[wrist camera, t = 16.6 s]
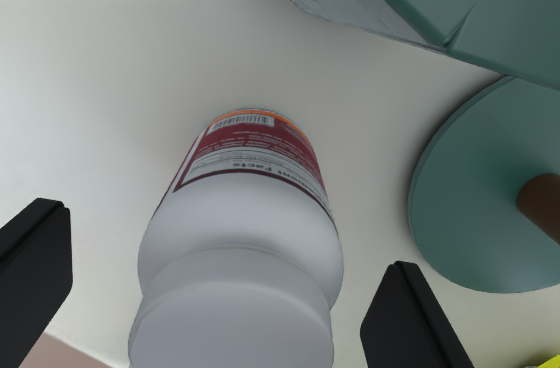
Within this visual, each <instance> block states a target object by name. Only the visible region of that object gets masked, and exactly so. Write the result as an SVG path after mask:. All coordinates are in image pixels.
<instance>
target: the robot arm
mask: <svg viewBox="0 0 560 368" xmlns="http://www.w3.org/2000/svg"><path fill="white" fill-rule="evenodd" d="M72 284H73V274H72V247H71V220H70V210H69V208H65V207H64V204H63V202H61V201H56V200H50V199H45V198H37V199H35V200H34V201H33V202H32V203H30V204H29V205H28V206H27V207H26V208H24V209H23V210H22V211H21V212H20V213H19V214H17V215H16V216H15V217H14V218H13V219H11V220H10V221H9V222H8V223H7V224H5V225H4V226H3V227H2V228H1V229H0V368H18V367H19V366H20V364H21V363H22V362H23V360H24V358H25V357H26V356H27V354H28V353H29V351H30V350H31V348H32V347H33V346H34V344H35V343H36V341H37V340H38V338H39V337H40V335H41V334H42V333H43V331H44V330H45V328H46V327H47V325H48V324H49V322H50V321H51V319H52V318H53V317H54V315H55V314H56V312H57V311H58V309H59V308H60V306H61V305H62V303H63V302H64V301H65V299H66V298H67V296H68V295H69V293H70V291H71V288H72ZM360 338H361V342H362V346H363V349H364V353H365V357H366V361H367V365H368V368H474V366H473V364H472V362H471V361H470V359H469V357H468V355H467V353H466V351H465V350H464V348H463V346H462V344H461V342H460V341H459V339H458V337H457V335H456V333H455V332H454V330H453V328H452V326H451V324H450V322H449V321H448V319H447V317H446V315H445V313H444V312H443V310H442V308H441V306H440V304H439V303H438V301H437V299H436V297H435V295H434V294H433V292H432V290H431V288H430V286H429V284H428V283H427V281H426V279H425V277H424V275H423V274H422V272H421V270H420V268H419V267H418V265H417V264H415V263H409V262H403V261H396V262H395V263H394V265H393V264H390V265H389V266H388V268H387V270H386V272H385V274H384V276H383V279H382V281H381V283H380V285H379V287H378V289H377V292H376V294H375V296H374V298H373V300H372V303H371V305H370V307H369V309H368V311H367V313H366V316H365V318H364V320H363V322H362V324H361V328H360Z"/></svg>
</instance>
